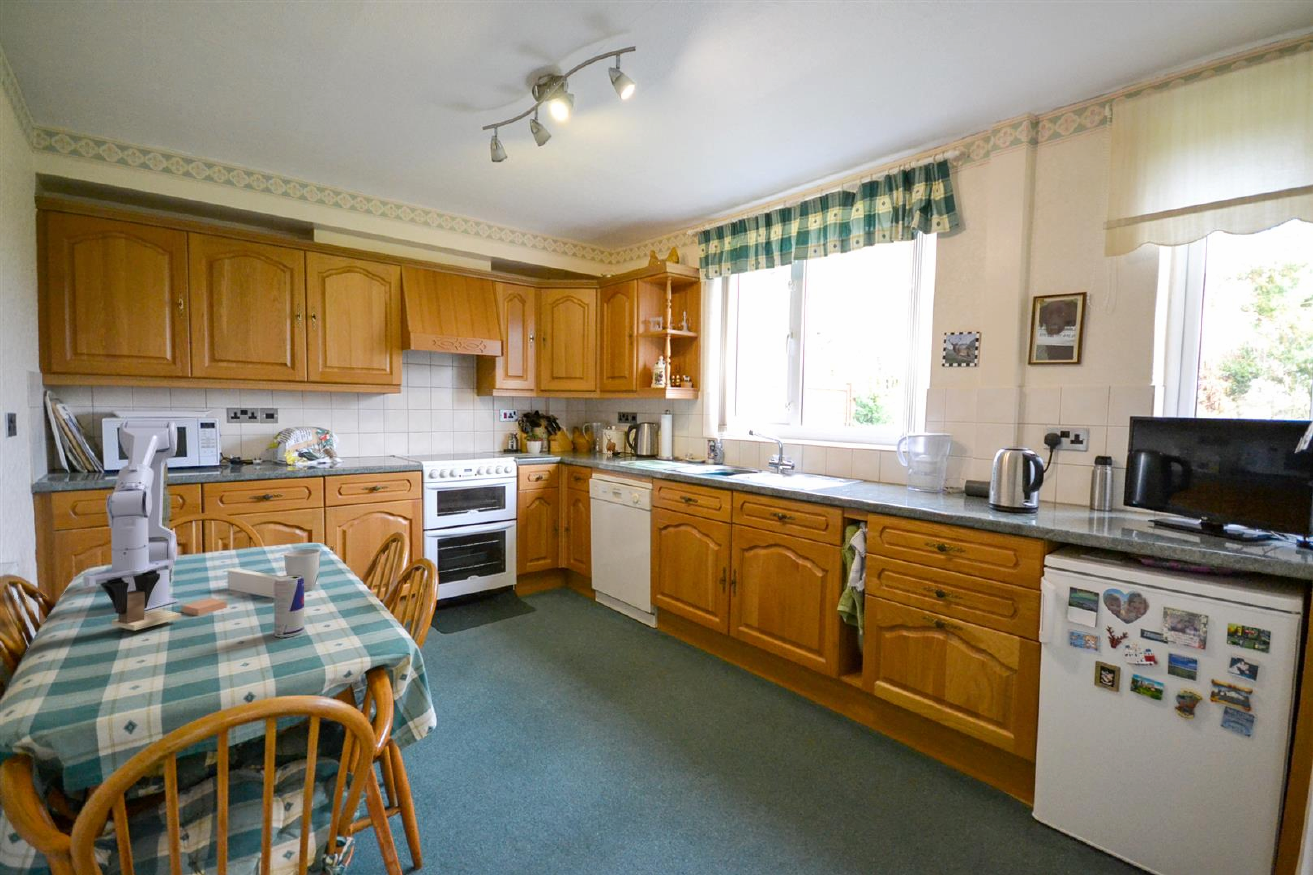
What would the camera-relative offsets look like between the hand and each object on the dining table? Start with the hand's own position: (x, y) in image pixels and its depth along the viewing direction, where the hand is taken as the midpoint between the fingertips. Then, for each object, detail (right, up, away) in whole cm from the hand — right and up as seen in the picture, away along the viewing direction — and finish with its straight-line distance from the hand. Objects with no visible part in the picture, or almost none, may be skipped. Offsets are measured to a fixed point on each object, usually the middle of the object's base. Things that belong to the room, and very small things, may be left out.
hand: (131, 610), depth 119 cm
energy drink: (+33, -5, +1) cm, 33 cm away
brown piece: (+1, -3, +3) cm, 4 cm away
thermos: (-25, -3, +32) cm, 40 cm away
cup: (+18, -4, +30) cm, 35 cm away
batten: (+9, -3, +26) cm, 27 cm away
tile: (+5, -4, +13) cm, 15 cm away
